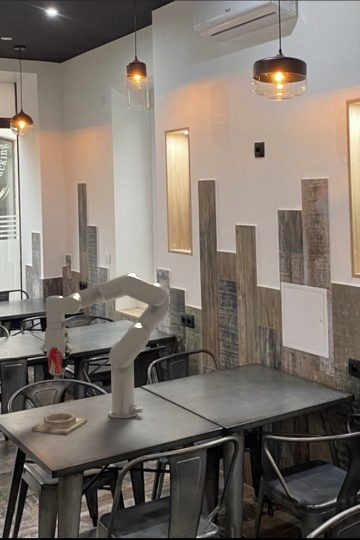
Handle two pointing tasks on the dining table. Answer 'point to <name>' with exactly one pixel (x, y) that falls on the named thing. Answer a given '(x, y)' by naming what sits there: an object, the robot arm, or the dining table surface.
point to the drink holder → (59, 423)
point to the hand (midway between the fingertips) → (57, 366)
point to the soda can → (55, 362)
